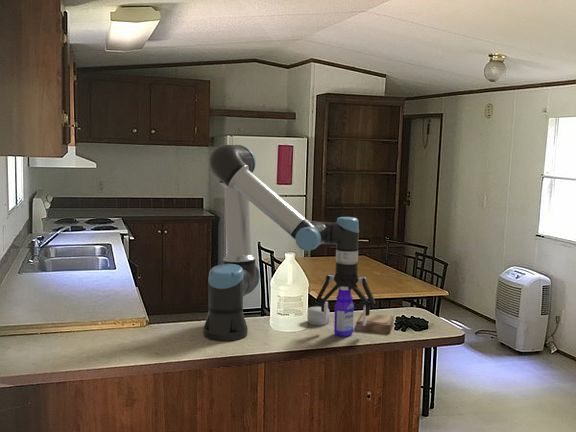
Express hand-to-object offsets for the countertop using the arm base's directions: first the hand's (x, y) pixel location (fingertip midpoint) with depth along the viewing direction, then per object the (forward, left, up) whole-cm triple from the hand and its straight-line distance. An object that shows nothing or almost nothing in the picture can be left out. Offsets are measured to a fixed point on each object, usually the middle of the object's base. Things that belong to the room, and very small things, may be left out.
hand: (344, 322), depth 208 cm
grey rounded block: (-12, +12, -4) cm, 18 cm away
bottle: (0, 0, -4) cm, 5 cm away
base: (+9, +13, -4) cm, 16 cm away
